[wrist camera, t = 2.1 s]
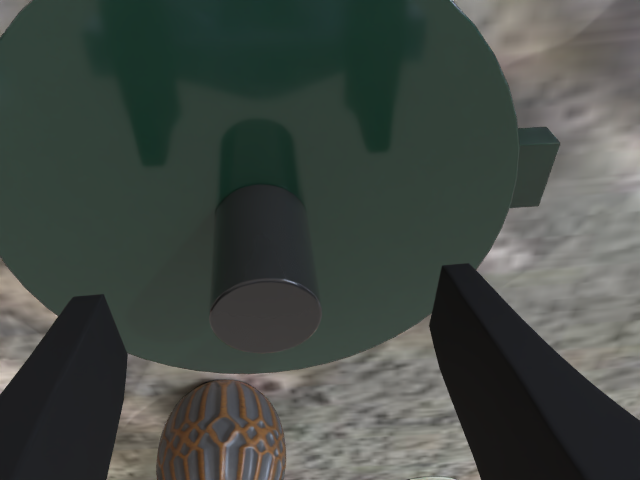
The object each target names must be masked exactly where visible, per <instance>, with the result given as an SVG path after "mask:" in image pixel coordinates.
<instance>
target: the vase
mask: <svg viewBox="0 0 640 480" xmlns="http://www.w3.org/2000/svg"><path fill="white" fill-rule="evenodd" d="M285 468H286V447H285V439H284V433H283V429H282V426H281V422H280V420H279V417H278V415H277V413H276V411H275V409H274V407H273V406H272V404H271V403H270V401H269V400H268V399H267V398H266V397H265V396H264V395H263V394H262V393H260V392H259V391H258V390H256V389H255V388H253V387H251V386H250V385H248V384H246V383H243V382H240V381H235V380H217V381H212V382H208V383H205V384H203V385H201V386H199V387H197V388H196V389H194V390H193V391H191V392H190V393H188V394H187V395H186V396H185V397H184V398H182V400H181V401H180V402H179V403H178V404H177V405H176V406H175V407H174V409H173V410H172V412H171V414H170V415H169V417H168V419H167V421H166V424H165V426H164V429H163V431H162V434H161V437H160V442H159V447H158V453H157V463H156V472H157V480H283V479H284V474H285Z"/></svg>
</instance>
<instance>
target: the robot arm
mask: <svg viewBox="0 0 640 480" xmlns="http://www.w3.org/2000/svg"><path fill="white" fill-rule="evenodd" d="M429 327H430V331H431V336H432V340H433V344H434V348H435V352H436V356H437V360H438V364H439V368H440V370H441V373H442V376H443V379H444V381H445V384H446V387H447V389H448V392H449V395H450V397H451V400H452V402H453V405H454V408H455V410H456V413H457V415H458V418H459V421H460V423H461V426H462V428H463V431H464V434H465V436H466V439H467V441H468V444H469V447H470V449H471V452H472V454H473V457H474V460H475V463H476V466H477V469H478V471H479V474H480V477H481V480H640V421H639V420H638V419H637V418H635V417H634V416H633V415H631V414H630V413H629V412H627V411H626V410H625V409H623V408H622V407H621V406H620V405H618V404H617V403H616V402H614V401H613V400H612V399H611V398H609V397H608V396H607V395H606V394H604V393H603V392H602V391H600V390H599V389H598V388H597V387H596V386H594V385H593V384H592V383H591V382H590V381H588V380H587V379H586V378H585V377H584V376H583V375H581V374H580V373H579V372H578V371H577V370H576V369H575V368H573V367H572V366H571V365H570V364H569V363H568V362H567V361H566V360H564V359H563V358H562V357H561V356H560V355H559V354H558V353H557V352H556V351H555V350H554V349H553V348H551V347H550V346H549V345H548V344H547V343H546V342H545V341H544V340H543V339H542V338H541V337H540V336H539V335H538V334H537V333H536V332H535V331H534V330H533V329H532V328H531V327H530V326H529V325H528V324H527V323H526V322H525V321H524V320H523V319H522V318H521V317H520V316H519V315H518V314H517V313H516V312H515V311H514V310H513V309H512V308H511V307H510V306H509V305H508V304H507V303H506V302H505V301H504V300H503V299H502V298H501V296H500V295H499V294H498V293H497V292H496V291H495V290H494V289H493V288H492V287H491V286H490V285H489V284H488V283H487V281H486V280H485V279H484V278H483V277H482V276H481V275H480V274H479V273H478V272H477V271H476V270H475V269H474V268H473V267H472V266H471V265H470V264H469V263H465V264H454V265H442V268H441V272H440V277H439V282H438V287H437V291H436V296H435V301H434V306H433V310H432V315H431V320H430V324H429ZM127 357H128V354H127V352H126V349H125V346H124V344H123V341H122V339H121V336H120V334H119V331H118V329H117V326H116V324H115V321H114V319H113V316H112V314H111V311H110V309H109V306H108V304H107V301H106V299H105V296H104V294H99V295H87V296H76V297H73V298H72V299H71V300H70V301H69V302H68V304H67V305H66V307H65V308H64V309H63V311H62V312H61V314H60V315H59V316H58V318H57V319H56V321H55V322H54V323H53V325H52V326H51V328H50V329H49V330H48V332H47V333H46V335H45V336H44V337H43V339H42V340H41V342H40V343H39V344H38V346H37V347H36V348H35V350H34V351H33V353H32V354H31V355H30V357H29V358H28V359H27V361H26V362H25V363H24V364H23V366H22V367H21V368H20V370H19V371H18V372H17V374H16V375H15V376H14V378H13V379H12V380H11V382H10V383H9V384H8V385H7V387H6V388H5V389H4V391H3V392H2V393H1V394H0V480H106V479H107V474H108V470H109V465H110V461H111V456H112V452H113V447H114V443H115V438H116V433H117V429H118V424H119V420H120V415H121V410H122V405H123V400H124V391H125V381H126V369H127Z"/></svg>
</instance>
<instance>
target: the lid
mask: <svg viewBox="0 0 640 480" xmlns="http://www.w3.org/2000/svg"><path fill="white" fill-rule="evenodd" d="M518 160H519V136H518V125H517V116H516V112H515V108H514V104H513V100H512V96H511V92H510V89H509V85H508V83H507V81H506V79H505V76H504V74H503V72H502V70H501V67H500V65H499V63H498V61H497V58H496V56H495V54H494V53H493V51H492V50H491V48H490V47H489V45H488V44H487V42H486V41H485V39H484V38H483V36H482V35H481V33H480V32H479V30H478V29H477V27H476V26H475V25H474V24H473V22H472V21H471V20H470V19H469V18H468V17H467V16H466V15H465V14H464V13H463V12H462V11H461V10H460V8H459V7H458V6H457V5H456V4H455V3H454V2H453V1H452V0H31V1H30V2H29V3H28V4H27V5H26V6H25V7H24V8H23V9H22V10H21V11H20V12H19V13H18V15H17V16H16V17H15V19H14V20H13V21H12V23H11V24H10V25H9V27H8V28H7V29H6V30H5V32H4V33H3V34H2V36H1V37H0V257H1V259H2V260H3V262H4V263H5V265H6V266H7V267H8V269H9V270H10V271H11V272H12V273H13V274H14V276H15V277H16V278H17V279H18V280H19V281H20V283H21V284H22V285H23V286H24V287H25V288H26V289H27V290H28V291H29V292H30V293H31V294H32V295H33V296H34V297H36V298H37V299H38V300H39V301H40V302H41V303H42V304H43V305H44V306H45V307H47V308H48V309H49V310H51V311H52V312H53V313H55V314H56V315H57V316H59V315H60V314H61V312H62V311H63V309H64V308H65V307H66V305H67V304H68V302H69V301H70V300H71V299H72V298H73V297H76V296H87V295H99V294H104V296H105V299H106V301H107V304H108V306H109V309H110V311H111V314H112V316H113V319H114V321H115V324H116V326H117V329H118V331H119V334H120V336H121V339H122V341H123V344H124V346H125V349H126V352H127V353H129V354H131V355H134V356H137V357H140V358H143V359H146V360H149V361H153V362H157V363H161V364H165V365H168V366H173V367H178V368H184V369H190V370H195V371H204V372H214V373H230V374H256V373H274V372H282V371H290V370H297V369H303V368H308V367H312V366H317V365H322V364H326V363H330V362H333V361H336V360H340V359H343V358H346V357H350V356H352V355H355V354H358V353H360V352H363V351H365V350H368V349H371V348H373V347H375V346H377V345H379V344H381V343H383V342H386V341H388V340H390V339H392V338H394V337H396V336H398V335H399V334H401V333H403V332H404V331H406V330H408V329H409V328H411V327H413V326H414V325H416V324H417V323H419V322H420V321H422V320H423V319H424V318H426V317H427V316H428V315H430V314H431V313H432V310H433V306H434V301H435V296H436V291H437V287H438V282H439V277H440V272H441V268H442V265H454V264H465V263H469V264H470V265H471V266H472V267H473V268H474V269H475V270H476V269H477V268H478V266H479V265H480V264H481V262H482V261H483V259H484V258H485V257H486V255H487V254H488V252H489V251H490V249H491V247H492V245H493V243H494V242H495V240H496V238H497V236H498V234H499V232H500V230H501V229H502V226H503V224H504V221H505V218H506V216H507V213H508V210H509V208H510V205H511V202H512V198H513V193H514V189H515V184H516V180H517V174H518Z"/></svg>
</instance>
